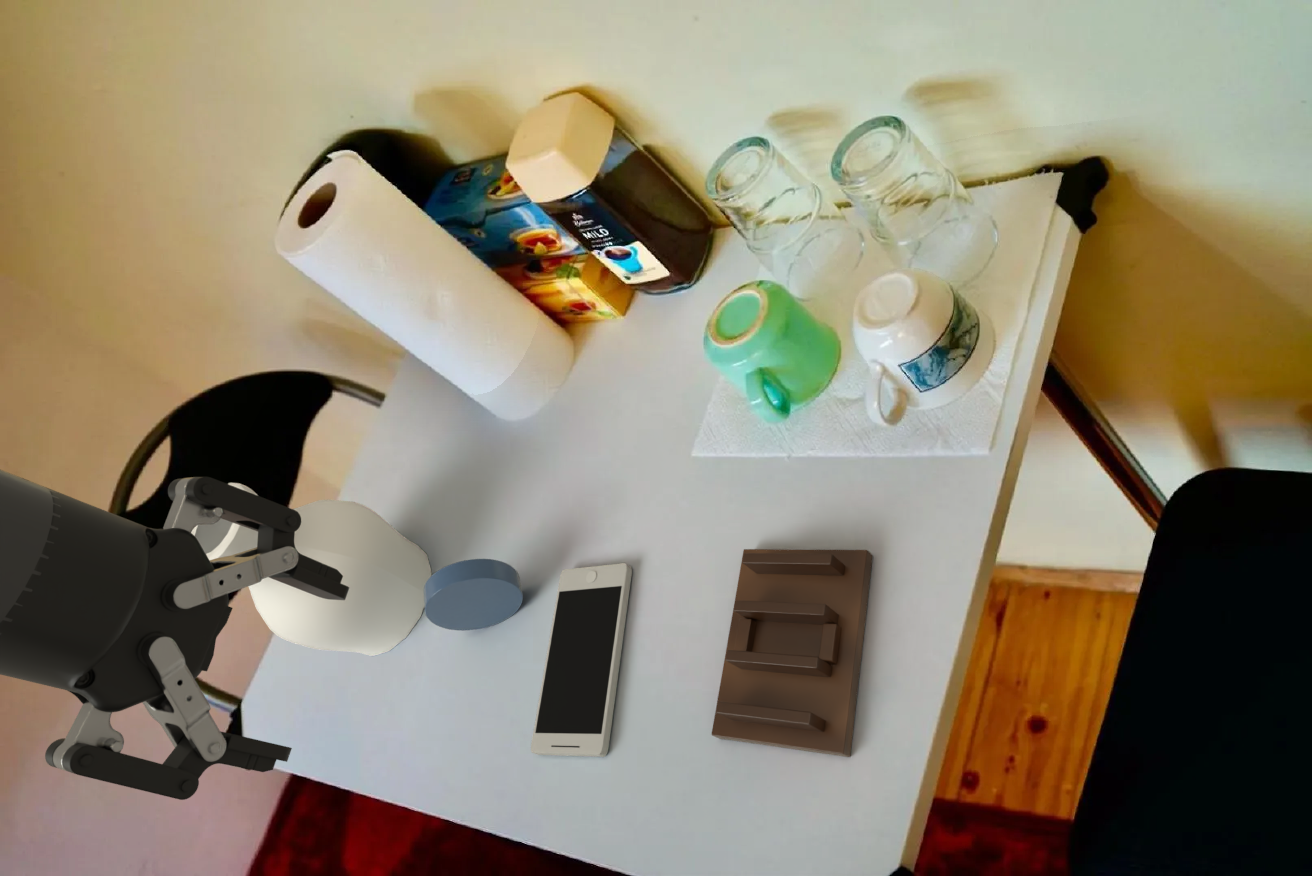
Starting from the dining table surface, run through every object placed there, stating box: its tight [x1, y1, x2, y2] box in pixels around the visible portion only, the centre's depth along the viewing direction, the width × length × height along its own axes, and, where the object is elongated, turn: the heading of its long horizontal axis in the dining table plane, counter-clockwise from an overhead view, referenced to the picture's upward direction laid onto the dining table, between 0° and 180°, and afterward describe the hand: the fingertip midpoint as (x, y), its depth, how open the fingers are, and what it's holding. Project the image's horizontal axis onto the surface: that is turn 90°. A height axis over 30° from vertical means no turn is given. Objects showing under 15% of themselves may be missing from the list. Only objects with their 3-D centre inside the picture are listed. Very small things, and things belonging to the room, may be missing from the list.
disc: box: [423, 558, 524, 631], centre depth 78 cm, size 2×8×8 cm
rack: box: [711, 548, 874, 758], centre depth 63 cm, size 14×10×4 cm
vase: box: [191, 482, 432, 657], centre depth 84 cm, size 14×14×20 cm
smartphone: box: [530, 562, 633, 758], centre depth 73 cm, size 7×15×1 cm, turn 172°
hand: (310, 670), depth 48 cm, fingers open, 8 cm apart
